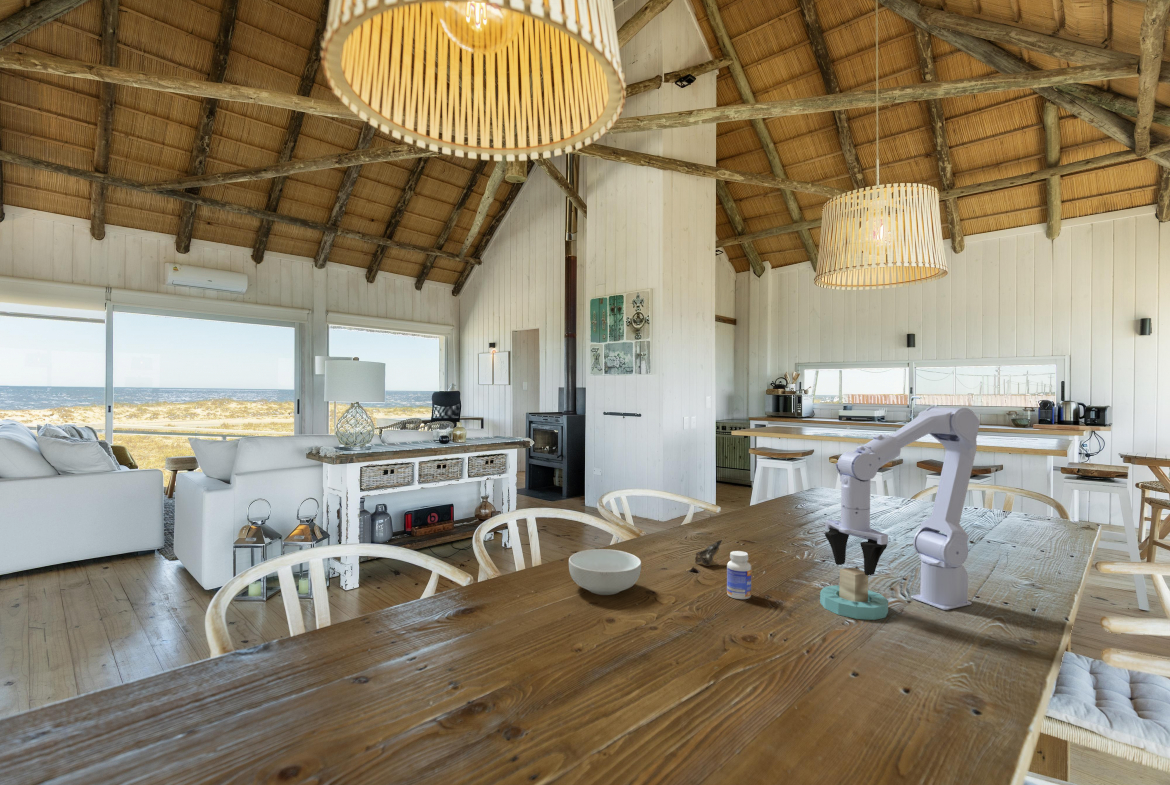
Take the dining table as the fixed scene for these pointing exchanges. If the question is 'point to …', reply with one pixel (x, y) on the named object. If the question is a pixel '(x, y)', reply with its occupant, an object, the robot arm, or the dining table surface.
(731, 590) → the pill bottle
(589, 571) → the cereal bowl
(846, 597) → the ash peg
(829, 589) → the bead ring
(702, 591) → the dining table surface
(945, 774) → the dining table surface
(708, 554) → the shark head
